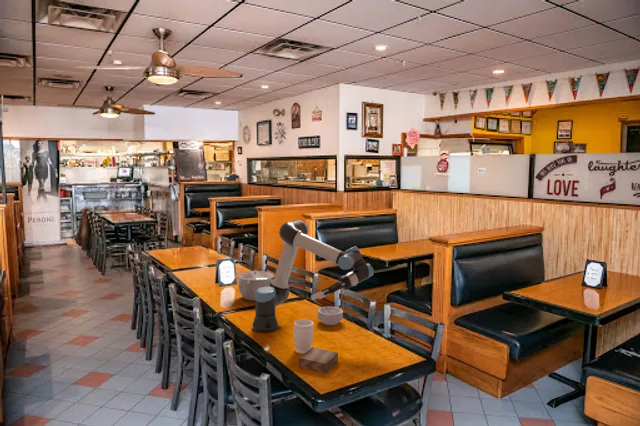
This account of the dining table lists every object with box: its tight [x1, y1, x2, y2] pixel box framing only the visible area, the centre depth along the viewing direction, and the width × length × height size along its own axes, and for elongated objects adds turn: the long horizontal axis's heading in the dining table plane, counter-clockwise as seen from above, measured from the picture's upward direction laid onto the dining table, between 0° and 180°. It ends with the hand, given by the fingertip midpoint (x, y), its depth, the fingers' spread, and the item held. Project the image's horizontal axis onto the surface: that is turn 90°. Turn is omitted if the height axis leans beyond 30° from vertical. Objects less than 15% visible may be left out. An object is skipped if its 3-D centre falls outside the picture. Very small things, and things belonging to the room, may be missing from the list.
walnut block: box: [298, 346, 339, 374], centre depth 218 cm, size 14×14×5 cm
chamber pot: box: [235, 269, 275, 302], centre depth 325 cm, size 28×28×21 cm
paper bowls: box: [317, 306, 344, 326], centre depth 276 cm, size 15×15×8 cm
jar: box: [293, 319, 315, 355], centre depth 233 cm, size 11×10×15 cm
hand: (315, 297), depth 244 cm, fingers open, 13 cm apart
